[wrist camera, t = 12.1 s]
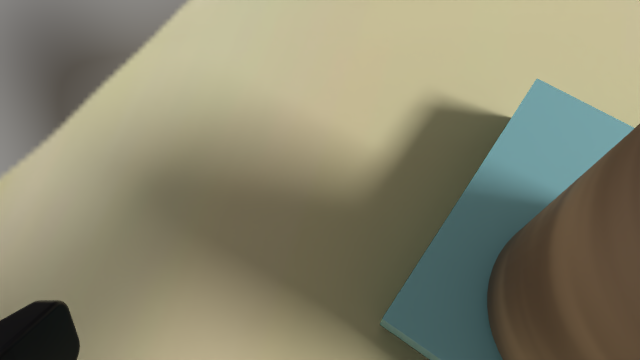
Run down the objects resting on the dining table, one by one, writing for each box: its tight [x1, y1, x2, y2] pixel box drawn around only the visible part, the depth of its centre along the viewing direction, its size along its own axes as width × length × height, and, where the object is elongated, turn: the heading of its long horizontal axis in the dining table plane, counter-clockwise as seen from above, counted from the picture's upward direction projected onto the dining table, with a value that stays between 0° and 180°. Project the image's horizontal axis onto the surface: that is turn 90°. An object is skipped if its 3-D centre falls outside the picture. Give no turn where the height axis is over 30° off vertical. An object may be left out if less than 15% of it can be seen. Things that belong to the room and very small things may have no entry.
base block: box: [380, 79, 634, 360], centre depth 19 cm, size 11×11×4 cm
